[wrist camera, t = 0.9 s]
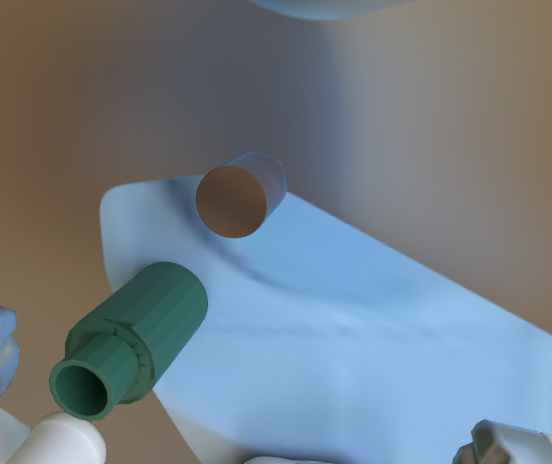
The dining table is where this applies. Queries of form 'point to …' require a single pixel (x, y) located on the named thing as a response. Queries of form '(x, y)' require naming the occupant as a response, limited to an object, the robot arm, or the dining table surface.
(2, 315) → the robot arm
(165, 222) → the dining table surface
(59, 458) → the vodka
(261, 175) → the stopper
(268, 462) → the decorative stone
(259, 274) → the dining table surface
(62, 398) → the bottle
